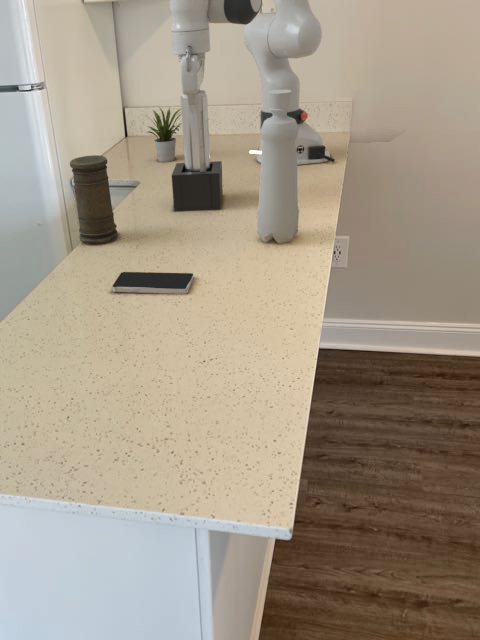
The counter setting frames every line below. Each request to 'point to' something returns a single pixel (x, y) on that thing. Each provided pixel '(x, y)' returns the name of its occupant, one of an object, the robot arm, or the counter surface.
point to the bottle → (278, 172)
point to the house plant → (165, 136)
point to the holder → (197, 188)
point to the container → (93, 200)
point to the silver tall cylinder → (196, 134)
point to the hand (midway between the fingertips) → (194, 108)
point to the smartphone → (153, 282)
